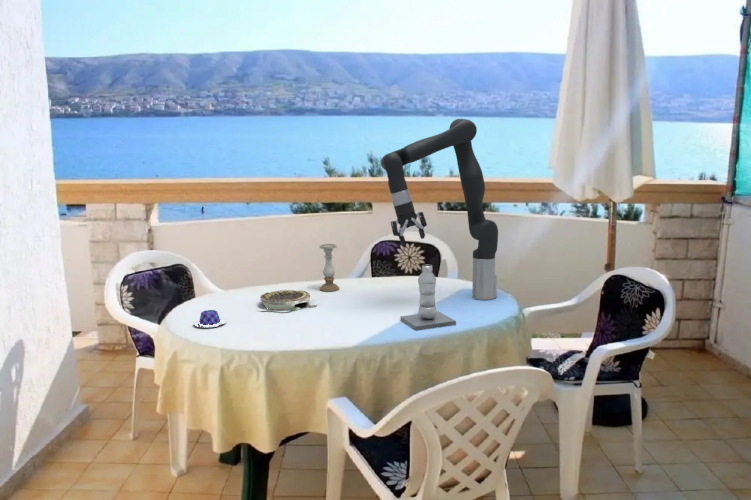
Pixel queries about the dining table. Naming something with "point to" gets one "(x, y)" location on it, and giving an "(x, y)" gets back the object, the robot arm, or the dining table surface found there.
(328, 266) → the candle holder
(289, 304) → the pie
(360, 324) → the dining table surface
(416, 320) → the slate tile
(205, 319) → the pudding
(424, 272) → the plastic bottle
